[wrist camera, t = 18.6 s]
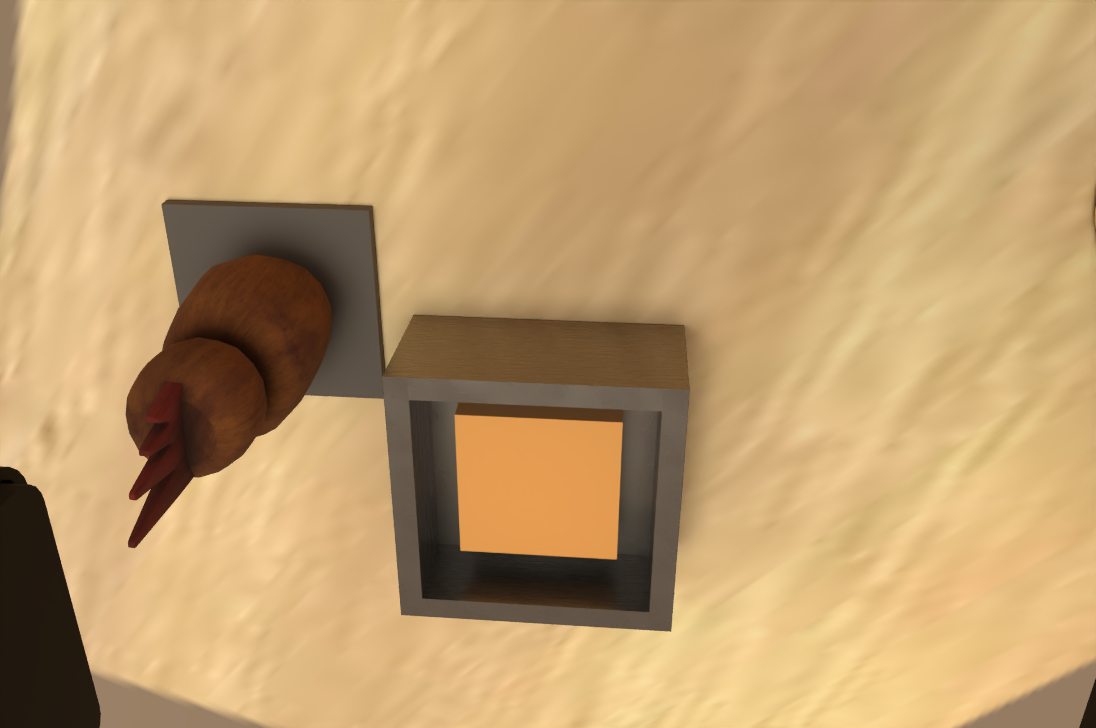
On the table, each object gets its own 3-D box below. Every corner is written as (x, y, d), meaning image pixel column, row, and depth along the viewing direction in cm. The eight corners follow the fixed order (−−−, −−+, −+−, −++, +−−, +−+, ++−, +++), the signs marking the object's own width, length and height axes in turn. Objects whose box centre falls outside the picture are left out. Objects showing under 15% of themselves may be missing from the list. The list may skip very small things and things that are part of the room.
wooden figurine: (316, 392, 46) (182, 608, 33) (198, 338, 45) (12, 536, 32) (369, 271, 43) (245, 454, 30) (244, 211, 42) (60, 371, 29)
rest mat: (372, 206, 42) (368, 210, 42) (386, 392, 46) (383, 398, 46) (167, 199, 43) (161, 204, 42) (199, 384, 47) (194, 390, 46)
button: (623, 403, 42) (622, 422, 41) (617, 537, 46) (616, 559, 44) (460, 396, 43) (454, 414, 41) (466, 529, 46) (460, 550, 45)
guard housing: (684, 325, 44) (689, 390, 38) (668, 547, 49) (671, 631, 44) (413, 315, 44) (382, 376, 39) (427, 534, 50) (401, 614, 44)
